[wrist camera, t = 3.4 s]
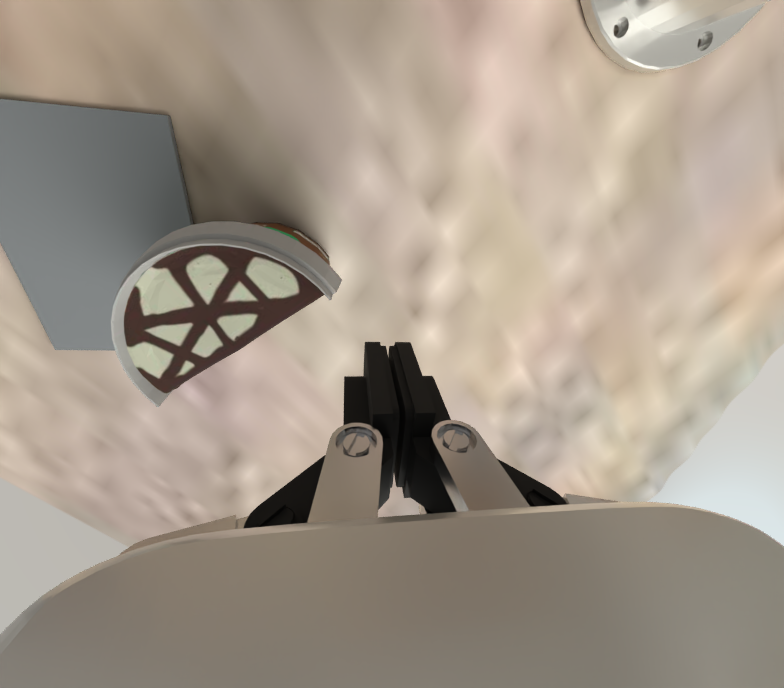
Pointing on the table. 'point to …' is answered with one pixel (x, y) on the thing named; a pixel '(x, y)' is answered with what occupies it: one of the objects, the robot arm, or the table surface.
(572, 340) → the table surface
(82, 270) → the mat
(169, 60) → the table surface
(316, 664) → the robot arm
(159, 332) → the food container
